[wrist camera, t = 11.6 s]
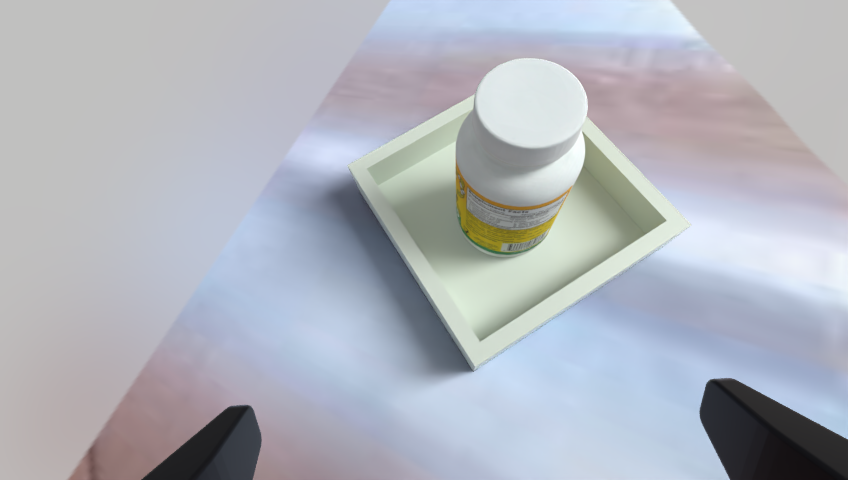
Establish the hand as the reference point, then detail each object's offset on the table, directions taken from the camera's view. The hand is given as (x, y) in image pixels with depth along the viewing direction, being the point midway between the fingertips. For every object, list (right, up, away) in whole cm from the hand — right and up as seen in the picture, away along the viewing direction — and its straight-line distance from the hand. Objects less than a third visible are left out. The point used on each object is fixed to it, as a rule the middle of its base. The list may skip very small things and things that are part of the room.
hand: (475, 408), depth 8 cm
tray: (+4, +5, +16) cm, 17 cm away
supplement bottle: (+3, +5, +16) cm, 17 cm away
